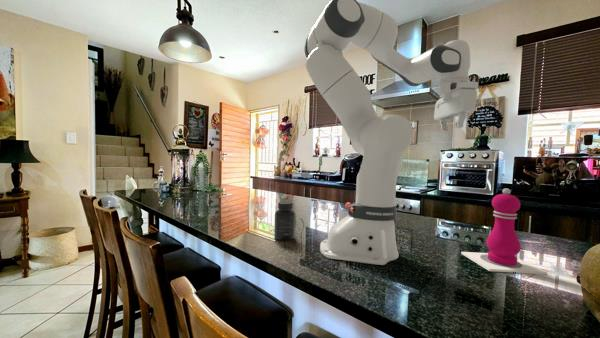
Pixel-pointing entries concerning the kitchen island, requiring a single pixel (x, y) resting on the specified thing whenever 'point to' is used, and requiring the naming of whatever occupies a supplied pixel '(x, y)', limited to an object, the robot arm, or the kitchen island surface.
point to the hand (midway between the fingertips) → (451, 129)
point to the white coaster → (492, 266)
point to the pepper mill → (504, 230)
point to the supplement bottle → (284, 222)
